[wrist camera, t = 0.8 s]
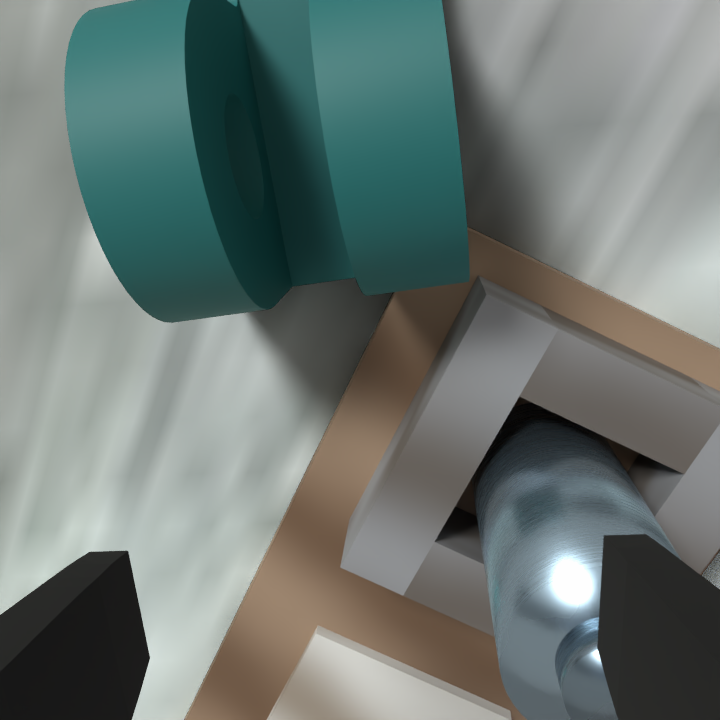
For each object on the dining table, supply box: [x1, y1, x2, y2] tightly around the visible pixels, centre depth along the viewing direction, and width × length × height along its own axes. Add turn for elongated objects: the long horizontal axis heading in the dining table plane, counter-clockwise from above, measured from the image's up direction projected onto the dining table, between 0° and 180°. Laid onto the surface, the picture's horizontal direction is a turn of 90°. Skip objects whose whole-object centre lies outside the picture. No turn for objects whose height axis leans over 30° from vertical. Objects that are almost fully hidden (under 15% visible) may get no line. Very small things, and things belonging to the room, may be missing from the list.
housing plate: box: [184, 227, 720, 720], centre depth 21 cm, size 22×12×4 cm, turn 155°
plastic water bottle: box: [471, 402, 681, 720], centre depth 16 cm, size 4×4×9 cm
